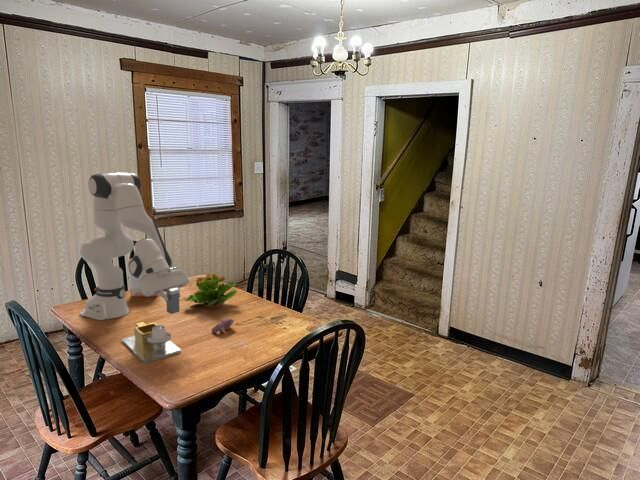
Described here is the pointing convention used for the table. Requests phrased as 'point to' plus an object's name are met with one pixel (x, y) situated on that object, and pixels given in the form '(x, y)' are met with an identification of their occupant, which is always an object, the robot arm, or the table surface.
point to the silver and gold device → (150, 342)
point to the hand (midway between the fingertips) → (173, 298)
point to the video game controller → (222, 325)
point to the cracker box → (136, 287)
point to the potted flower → (212, 291)
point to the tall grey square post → (173, 300)
